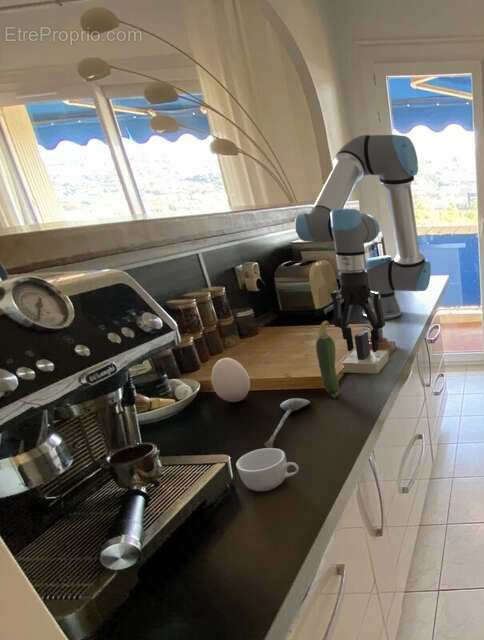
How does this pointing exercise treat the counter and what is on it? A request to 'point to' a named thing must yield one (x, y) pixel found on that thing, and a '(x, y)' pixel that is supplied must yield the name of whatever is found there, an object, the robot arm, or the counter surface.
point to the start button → (379, 339)
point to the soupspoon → (286, 415)
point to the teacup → (264, 469)
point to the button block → (385, 346)
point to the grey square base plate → (365, 362)
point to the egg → (230, 380)
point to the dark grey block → (362, 345)
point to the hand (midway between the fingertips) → (363, 350)
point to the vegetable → (327, 360)
